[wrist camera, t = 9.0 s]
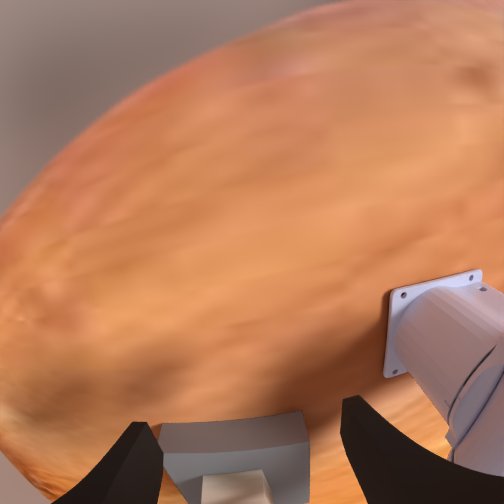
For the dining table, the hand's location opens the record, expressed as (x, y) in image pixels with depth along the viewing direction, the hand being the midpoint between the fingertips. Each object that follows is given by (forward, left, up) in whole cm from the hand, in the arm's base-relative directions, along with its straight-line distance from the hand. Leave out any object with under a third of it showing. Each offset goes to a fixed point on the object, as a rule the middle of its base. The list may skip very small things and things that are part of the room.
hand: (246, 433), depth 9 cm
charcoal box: (+3, +16, -11) cm, 20 cm away
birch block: (+3, +16, -7) cm, 17 cm away
